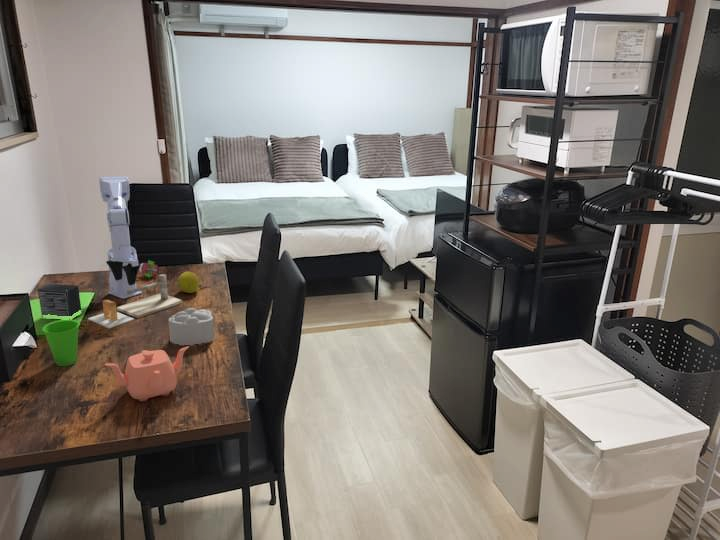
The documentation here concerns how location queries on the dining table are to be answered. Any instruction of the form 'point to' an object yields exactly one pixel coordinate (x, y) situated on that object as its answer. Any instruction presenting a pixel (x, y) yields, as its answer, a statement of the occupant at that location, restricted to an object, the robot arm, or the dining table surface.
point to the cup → (63, 340)
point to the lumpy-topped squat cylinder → (191, 327)
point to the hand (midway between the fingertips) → (125, 282)
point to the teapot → (149, 373)
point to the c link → (109, 310)
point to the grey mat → (109, 323)
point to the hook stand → (150, 300)
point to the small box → (59, 299)
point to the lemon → (188, 282)
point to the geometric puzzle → (148, 268)
